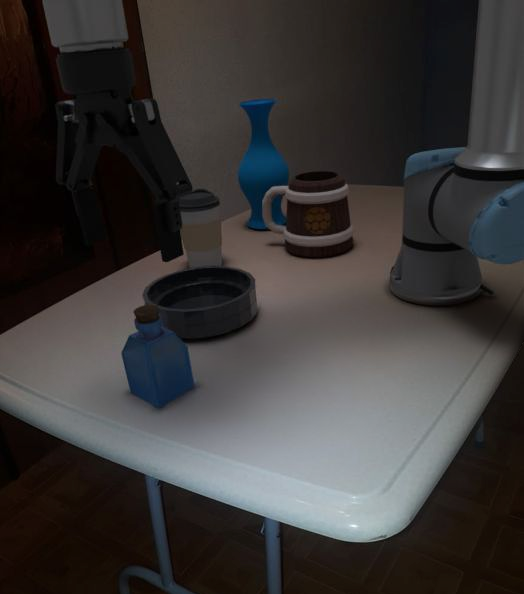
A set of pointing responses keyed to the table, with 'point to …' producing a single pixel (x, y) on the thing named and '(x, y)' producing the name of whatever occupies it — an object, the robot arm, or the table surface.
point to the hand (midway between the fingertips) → (132, 250)
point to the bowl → (204, 300)
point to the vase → (262, 165)
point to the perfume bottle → (156, 360)
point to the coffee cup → (201, 228)
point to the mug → (313, 214)
